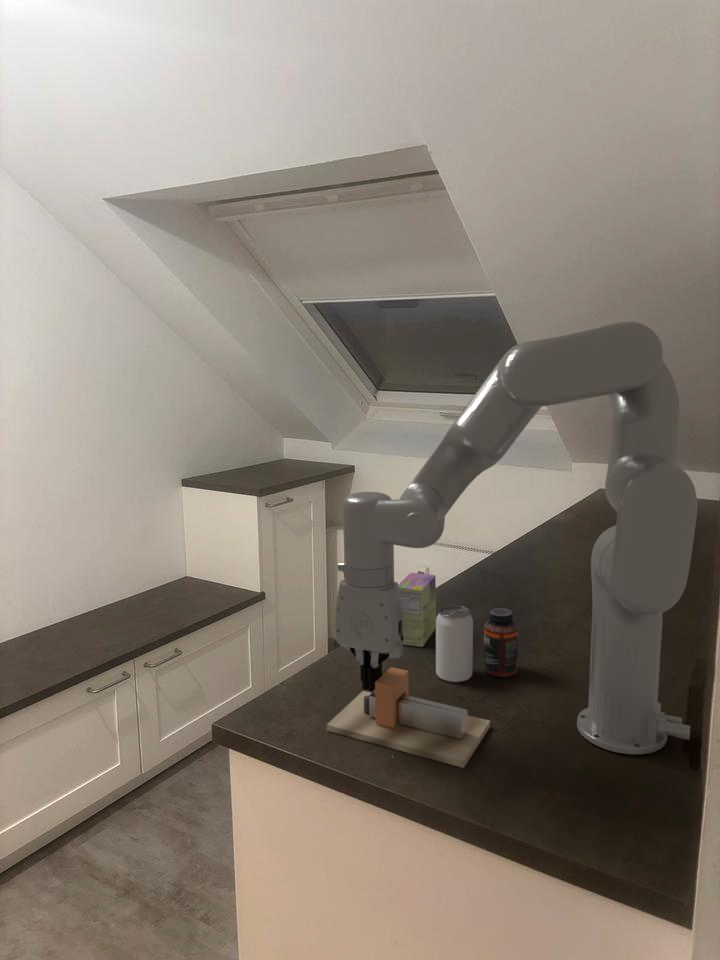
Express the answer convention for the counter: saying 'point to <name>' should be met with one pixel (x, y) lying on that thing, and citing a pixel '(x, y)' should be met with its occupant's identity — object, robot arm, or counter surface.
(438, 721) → the jaw
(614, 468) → the robot arm
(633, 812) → the counter surface
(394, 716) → the orange notched block
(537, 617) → the counter surface
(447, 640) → the can
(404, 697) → the bar
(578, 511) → the counter surface
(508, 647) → the supplement bottle
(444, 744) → the tongs board
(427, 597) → the box
